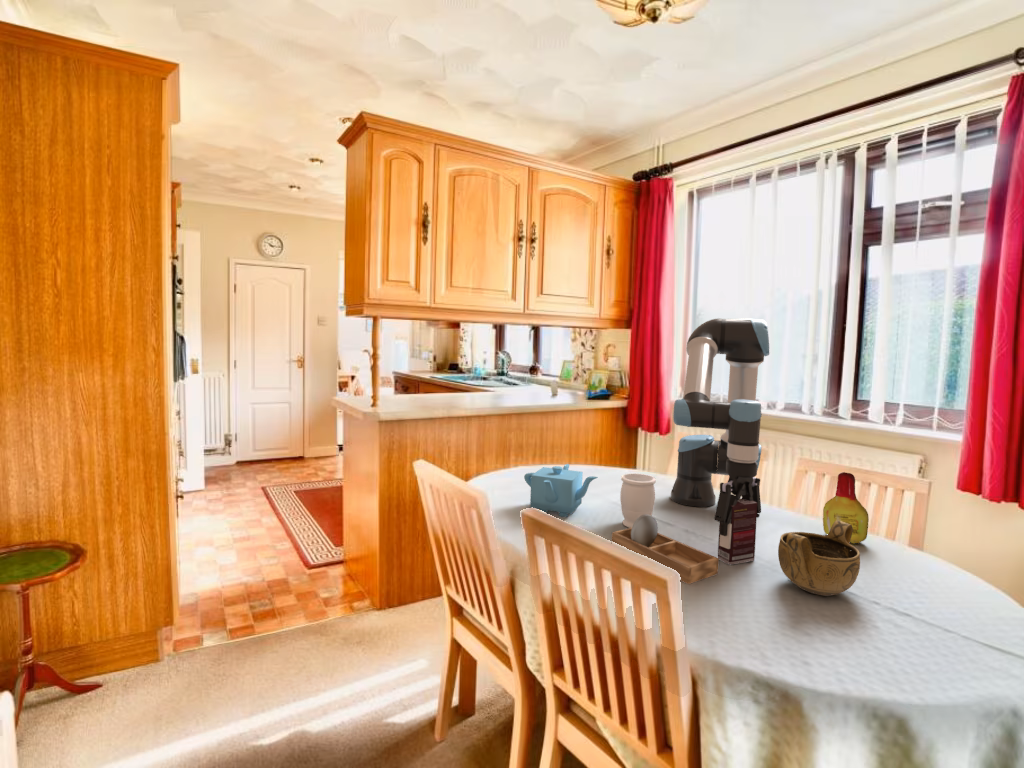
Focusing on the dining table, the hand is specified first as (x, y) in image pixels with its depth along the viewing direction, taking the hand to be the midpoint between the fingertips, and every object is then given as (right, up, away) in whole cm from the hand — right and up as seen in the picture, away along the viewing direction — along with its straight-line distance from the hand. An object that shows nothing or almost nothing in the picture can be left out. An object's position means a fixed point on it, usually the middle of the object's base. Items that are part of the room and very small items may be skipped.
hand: (736, 543), depth 146 cm
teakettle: (-44, 0, +36) cm, 57 cm away
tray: (-20, -4, 0) cm, 20 cm away
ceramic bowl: (+12, -7, -15) cm, 21 cm away
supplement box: (0, -5, 0) cm, 5 cm away
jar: (-21, -2, +25) cm, 33 cm away
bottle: (+38, -4, +17) cm, 42 cm away
